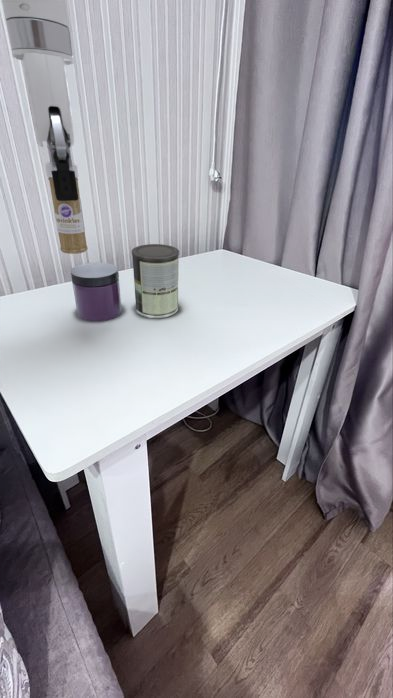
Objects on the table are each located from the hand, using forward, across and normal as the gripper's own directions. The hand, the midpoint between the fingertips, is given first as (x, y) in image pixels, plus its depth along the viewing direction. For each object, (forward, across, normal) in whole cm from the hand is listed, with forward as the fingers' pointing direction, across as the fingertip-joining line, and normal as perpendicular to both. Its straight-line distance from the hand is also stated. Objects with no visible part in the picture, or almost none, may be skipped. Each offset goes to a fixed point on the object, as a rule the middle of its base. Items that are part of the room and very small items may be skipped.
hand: (66, 196), depth 53 cm
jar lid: (+17, -11, +4) cm, 21 cm away
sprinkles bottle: (+9, 0, 0) cm, 9 cm away
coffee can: (+27, -8, +17) cm, 33 cm away
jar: (+26, -11, +4) cm, 29 cm away
